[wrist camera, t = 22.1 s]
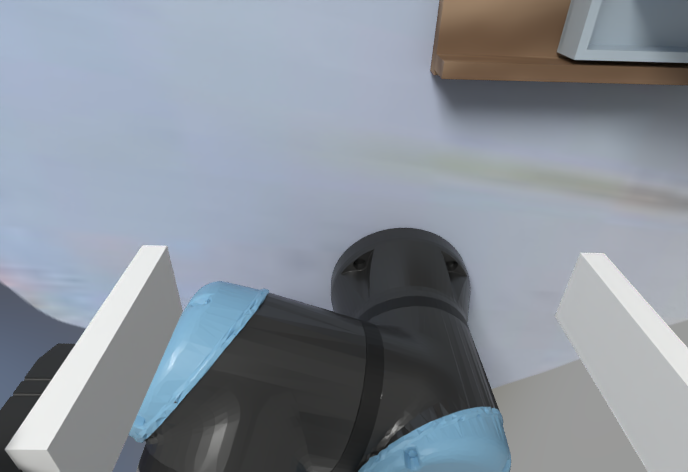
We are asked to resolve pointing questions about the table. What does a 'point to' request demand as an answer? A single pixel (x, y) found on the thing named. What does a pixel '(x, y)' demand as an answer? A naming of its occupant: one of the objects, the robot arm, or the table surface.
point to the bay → (526, 47)
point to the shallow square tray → (626, 31)
